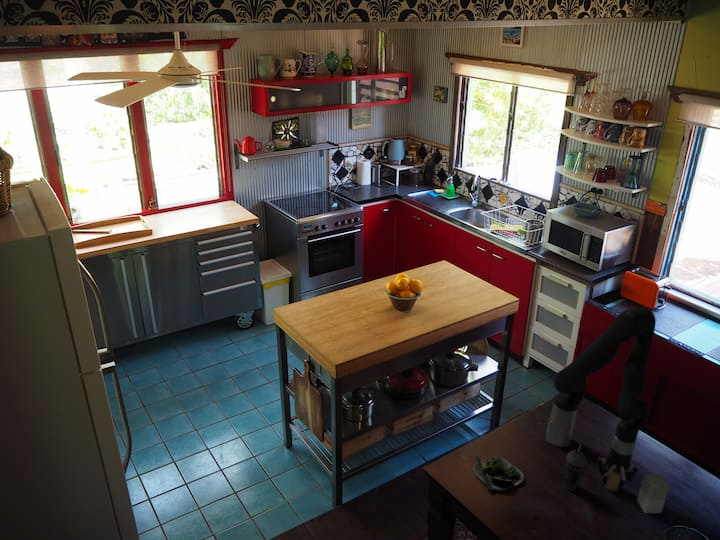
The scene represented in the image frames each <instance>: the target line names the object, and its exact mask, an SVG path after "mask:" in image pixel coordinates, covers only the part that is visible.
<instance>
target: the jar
mask: <svg viewBox="0 0 720 540" xmlns="http://www.w3.org/2000/svg"><path fill="white" fill-rule="evenodd" d="M621 477H622V475H621V473H620V472H617V471H612V472H611V473H610V474H609V475H608V478H607V481H606V485H605V484H604V487H605V488H606V489H607V490H609V491H611V492H617V491H618V490H619V489H620V488H619V484H620V481H621Z"/></svg>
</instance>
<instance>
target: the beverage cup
mask: <svg viewBox="0 0 720 540" xmlns="http://www.w3.org/2000/svg"><path fill="white" fill-rule="evenodd" d="M581 447H582V443H580V444H579V446H578V449H574V450H570V452H568V454H567V455H566V456H565V469H564V477H563V487H564V488H565V489H566V490H568V491H571V492H572V491H576V490H577V488H578V486H579V483H580V480H581V478H582V475H583V472H584V470H586V469H585V468H586V467H587V456H586V455H585V454H584V453H583V452H582V451H581Z"/></svg>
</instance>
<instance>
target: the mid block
mask: <svg viewBox="0 0 720 540" xmlns="http://www.w3.org/2000/svg"><path fill="white" fill-rule="evenodd" d="M670 487H671V486H670V484H669V483H668V482H667V480H666V479H665V477H663V476H662V474H661V473H660V474H658V473H657V474H656V473H655V474H654V473H653V474H652V473H651V474H650V473H645V474H644V475H643V478H642V482H641V485H640V488H641V489H642V490H643V492H644V493H645V495H646V496H647V498H648V499H649V500H665V501H666V499H667V496H668V493H669V490H670Z"/></svg>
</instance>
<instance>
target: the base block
mask: <svg viewBox="0 0 720 540" xmlns="http://www.w3.org/2000/svg"><path fill="white" fill-rule="evenodd" d="M636 502H637V504H638V505H639V507H640V508H641V509H642V511H643V512H644V514H661V513H662V512H663V508H664V505H665V502H666V500H649V499H648V498H647V496H646V495H645V493H644V492H643V490H642V489H641V487H639V491H638V495H637V499H636Z"/></svg>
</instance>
